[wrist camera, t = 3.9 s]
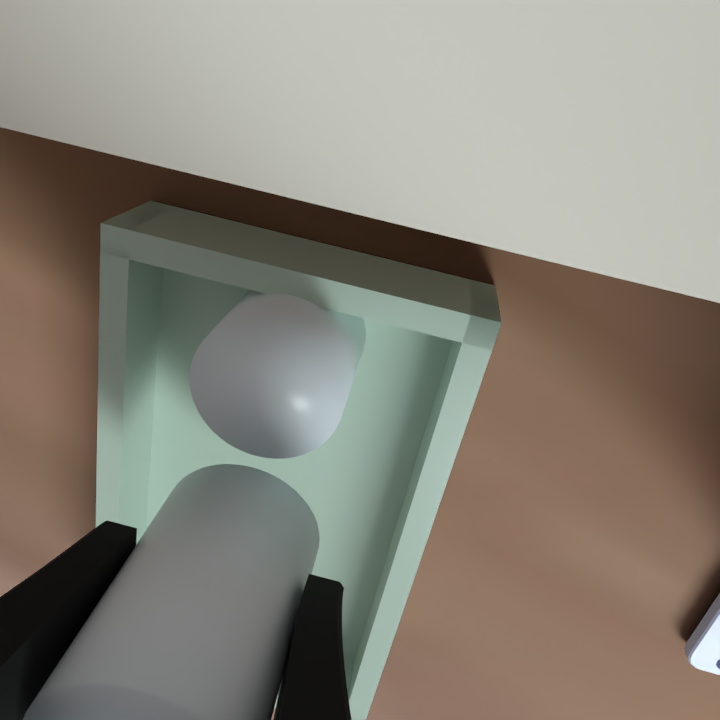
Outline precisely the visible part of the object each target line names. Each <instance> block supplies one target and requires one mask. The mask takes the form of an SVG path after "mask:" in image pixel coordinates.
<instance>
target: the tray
mask: <svg viewBox="0 0 720 720" xmlns="http://www.w3.org/2000/svg"><path fill="white" fill-rule="evenodd" d="M500 326H501V317H500V311H499V305H498V299H497V293H496V287H495V285H491V284H487V283H483V282H479V281H475V280H470V279H466V278H462V277H458V276H454V275H450V274H446V273H442V272H438V271H434V270H430V269H426V268H422V267H418V266H414V265H410V264H406V263H402V262H397V261H393V260H389V259H385V258H381V257H377V256H373V255H369V254H365V253H361V252H357V251H353V250H349V249H345V248H341V247H337V246H333V245H329V244H325V243H320V242H316V241H312V240H308V239H304V238H300V237H296V236H292V235H288V234H284V233H280V232H276V231H272V230H268V229H264V228H260V227H256V226H252V225H248V224H243V223H239V222H235V221H231V220H227V219H223V218H219V217H215V216H211V215H207V214H203V213H199V212H195V211H191V210H187V209H183V208H179V207H175V206H170V205H166V204H162V203H158V202H154V201H148V202H146V203H144V204H142V205H140V206H137V207H135V208H133V209H131V210H128V211H126V212H124V213H122V214H120V215H117V216H115V217H113V218H111V219H108V220H106V221H104V222H102V223H101V228H100V290H99V353H98V415H97V477H96V527H97V526H99V525H100V524H101V523H103V522H105V521H111V522H115V523H119V524H123V525H126V526H130V527H134V528H137V538H136V545H137V543H138V542H139V540H140V539H141V537H142V536H143V534H144V533H145V531H146V530H147V528H148V527H149V525H150V523H151V522H152V520H153V519H154V517H155V516H156V514H157V513H158V511H159V510H160V508H161V507H162V505H163V504H164V502H165V501H166V499H167V498H168V496H169V495H170V493H171V492H172V490H173V489H174V487H175V486H176V485H177V484H178V483H179V482H180V481H181V480H182V479H183V478H184V477H185V476H187V475H188V474H190V473H192V472H194V471H196V470H198V469H201V468H204V467H207V466H212V465H218V464H238V465H244V466H249V467H253V468H256V469H260V470H262V471H265V472H267V473H270V474H272V475H274V476H275V477H277V478H279V479H281V480H282V481H284V482H285V483H287V484H288V485H289V486H291V487H292V488H293V489H294V490H295V491H297V493H298V494H299V495H300V496H301V497H302V498H303V499H304V500H305V502H306V503H307V504H308V505H309V507H310V509H311V511H312V512H313V514H314V516H315V519H316V521H317V525H318V529H319V537H320V541H319V549H318V553H317V556H316V560H315V564H314V567H313V571H312V575H316V576H320V577H323V578H327V579H331V580H335V581H338V582H340V583H341V584H342V586H343V587H344V591H343V601H342V639H343V655H344V666H345V675H346V683H347V692H348V700H349V707H350V713H351V720H366V718H367V715H368V712H369V709H370V706H371V703H372V700H373V697H374V694H375V691H376V688H377V686H378V683H379V680H380V677H381V674H382V671H383V668H384V665H385V662H386V659H387V656H388V653H389V650H390V648H391V645H392V642H393V639H394V636H395V633H396V630H397V627H398V624H399V621H400V618H401V615H402V612H403V610H404V607H405V604H406V601H407V598H408V595H409V592H410V589H411V586H412V583H413V580H414V577H415V574H416V571H417V569H418V566H419V563H420V560H421V557H422V554H423V551H424V548H425V545H426V542H427V539H428V536H429V533H430V531H431V528H432V525H433V522H434V519H435V516H436V513H437V510H438V507H439V504H440V501H441V498H442V495H443V492H444V490H445V487H446V484H447V481H448V478H449V475H450V472H451V469H452V466H453V463H454V460H455V457H456V454H457V452H458V449H459V446H460V443H461V440H462V437H463V434H464V431H465V428H466V425H467V422H468V419H469V416H470V413H471V411H472V408H473V405H474V402H475V399H476V396H477V393H478V390H479V387H480V384H481V381H482V378H483V375H484V373H485V370H486V367H487V364H488V361H489V358H490V355H491V352H492V349H493V346H494V343H495V340H496V337H497V335H498V332H499V329H500ZM281 682H282V681H281ZM280 686H281V685H280ZM279 690H280V689H279ZM278 695H279V692H278ZM277 699H278V696H277ZM277 699H276V703H275V706H274V708H276V704H277Z"/></svg>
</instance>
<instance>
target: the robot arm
mask: <svg viewBox="0 0 720 720" xmlns="http://www.w3.org/2000/svg"><path fill="white" fill-rule="evenodd" d="M136 538H137V528H134V527H130V526H126V525H123V524H119V523H115V522H111V521H105V522H103V523H101V524H100V525H99V526H97V527H96V528H95V529H93V530H92V531H91V532H89V533H88V534H87V535H85V536H84V537H83V538H81V539H80V540H79V541H78V542H76V543H75V544H74V545H72V546H71V547H70V548H68V549H67V550H66V551H64V552H63V553H62V554H60V555H59V556H57V557H56V558H55V559H53V560H52V561H51V562H49V563H48V564H47V565H45V566H44V567H42V568H41V569H40V570H38V571H37V572H35V573H34V574H33V575H31V576H30V577H28V578H27V579H25V580H24V581H23V582H21V583H20V584H18V585H17V586H15V587H14V588H13V589H11V590H10V591H8V592H7V593H5V594H4V595H3V596H1V597H0V720H23V718H24V716H25V714H26V711H27V710H28V708H29V707H30V705H31V704H32V702H33V701H34V699H35V698H36V696H37V695H38V693H39V692H40V690H41V689H42V687H43V686H44V684H45V683H46V681H47V679H48V678H49V676H50V675H51V673H52V672H53V670H54V669H55V667H56V666H57V664H58V663H59V661H60V660H61V658H62V657H63V655H64V654H65V652H66V651H67V649H68V648H69V646H70V645H71V643H72V642H73V640H74V639H75V637H76V636H77V634H78V633H79V631H80V630H81V628H82V626H83V625H84V623H85V622H86V620H87V619H88V617H89V616H90V614H91V613H92V611H93V610H94V608H95V607H96V605H97V604H98V602H99V601H100V599H101V598H102V596H103V595H104V593H105V592H106V590H107V589H108V587H109V586H110V584H111V583H112V581H113V580H114V578H115V577H116V575H117V573H118V572H119V570H120V569H121V567H122V566H123V564H124V563H125V561H126V560H127V558H128V557H129V555H130V554H131V552H132V551H133V549H134V548H135V546H136ZM343 591H344V587H343V586H342V584H341V583H340V582H338V581H335V580H331V579H327V578H323V577H320V576H316V575H312V574H309V575H308V578H307V581H306V584H305V588H304V591H303V594H302V598H301V601H300V604H299V608H298V612H297V617H296V621H295V625H294V630H293V634H292V639H291V644H290V649H289V654H288V659H287V663H286V667H285V671H284V674H283V678H282V682H281V686H280V690H279V695H278V699H277V704H276V710H275V715H274V720H351V713H350V707H349V700H348V692H347V683H346V675H345V666H344V655H343V639H342V601H343ZM684 649H685V653H686V655H687V658H688V661H689V663H690V664H691V665H692V666H693V667H695V668H698V669H700V670H704V671H707V672H711V673H715V674H719V675H720V593H719V595H718V596H717V598H716V599H715V601H714V602H713V604H712V605H711V607H710V608H709V610H708V611H707V613H706V614H705V616H704V617H703V619H702V620H701V622H700V623H699V625H698V626H697V628H696V629H695V631H694V632H693V634H692V635H691V637H690V638H689V640H688V641H687V643H686V645H685V648H684Z"/></svg>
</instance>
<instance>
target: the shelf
mask: <svg viewBox="0 0 720 720" xmlns="http://www.w3.org/2000/svg"><path fill="white" fill-rule="evenodd" d="M0 127H2V128H6V129H10V130H14V131H18V132H22V133H26V134H30V135H34V136H39V137H43V138H47V139H51V140H55V141H59V142H63V143H67V144H71V145H75V146H79V147H84V148H88V149H92V150H96V151H100V152H104V153H108V154H112V155H116V156H120V157H124V158H129V159H133V160H137V161H141V162H145V163H149V164H153V165H157V166H161V167H165V168H169V169H174V170H178V171H182V172H186V173H190V174H194V175H198V176H202V177H206V178H210V179H214V180H218V181H223V182H227V183H231V184H235V185H239V186H243V187H247V188H251V189H255V190H259V191H263V192H268V193H272V194H276V195H280V196H284V197H288V198H292V199H296V200H300V201H304V202H308V203H313V204H317V205H321V206H325V207H329V208H333V209H337V210H341V211H345V212H349V213H353V214H358V215H362V216H366V217H370V218H374V219H378V220H382V221H386V222H390V223H394V224H398V225H402V226H407V227H411V228H415V229H419V230H423V231H427V232H431V233H435V234H439V235H443V236H447V237H452V238H456V239H460V240H464V241H468V242H472V243H476V244H480V245H484V246H488V247H492V248H497V249H501V250H505V251H509V252H513V253H517V254H521V255H525V256H529V257H533V258H537V259H542V260H546V261H550V262H554V263H558V264H562V265H566V266H570V267H574V268H578V269H582V270H586V271H591V272H595V273H599V274H603V275H607V276H611V277H615V278H619V279H623V280H627V281H631V282H636V283H640V284H644V285H648V286H652V287H656V288H660V289H664V290H668V291H672V292H676V293H681V294H685V295H689V296H693V297H697V298H701V299H705V300H709V301H713V302H717V303H720V0H0Z"/></svg>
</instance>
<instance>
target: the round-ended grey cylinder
mask: <svg viewBox="0 0 720 720" xmlns="http://www.w3.org/2000/svg"><path fill="white" fill-rule="evenodd" d="M319 541H320V537H319V529H318V525H317V521H316V519H315V516H314V514H313V512H312V511H311V509H310V507H309V505H308V504H307V503H306V502H305V500H304V499H303V498H302V497H301V496H300V495H299V494H298V493H297V491H295V490H294V489H293V488H292V487H291V486H289V485H288V484H287V483H285V482H284V481H282V480H281V479H279V478H277V477H275V476H274V475H272V474H270V473H267V472H265V471H262V470H260V469H256V468H253V467H249V466H244V465H238V464H218V465H212V466H207V467H204V468H201V469H198V470H196V471H194V472H192V473H190V474H188V475H187V476H185V477H184V478H183V479H182V480H181V481H180V482H179V483H178V484H177V485H176V486H175V487H174V489H173V490H172V492H171V493H170V495H169V496H168V498H167V499H166V501H165V502H164V504H163V505H162V507H161V508H160V510H159V511H158V513H157V514H156V516H155V517H154V519H153V520H152V522H151V523H150V525H149V527H148V528H147V530H146V531H145V533H144V534H143V536H142V537H141V539H140V540H139V542H138V543H137V545H136V546H135V548H134V549H133V551H132V552H131V554H130V555H129V557H128V558H127V560H126V561H125V563H124V564H123V566H122V567H121V569H120V570H119V572H118V573H117V575H116V577H115V578H114V580H113V581H112V583H111V584H110V586H109V587H108V589H107V590H106V592H105V593H104V595H103V596H102V598H101V599H100V601H99V602H98V604H97V605H96V607H95V608H94V610H93V611H92V613H91V614H90V616H89V617H88V619H87V620H86V622H85V623H84V625H83V626H82V628H81V630H80V631H79V633H78V634H77V636H76V637H75V639H74V640H73V642H72V643H71V645H70V646H69V648H68V649H67V651H66V652H65V654H64V655H63V657H62V658H61V660H60V661H59V663H58V664H57V666H56V667H55V669H54V670H53V672H52V673H51V675H50V676H49V678H48V679H47V681H46V683H45V684H44V686H43V687H42V689H41V690H40V692H39V693H38V695H37V696H36V698H35V699H34V701H33V702H32V704H31V705H30V707H29V708H28V710H27V711H26V714H25V716H24V718H23V720H271V717H272V714H273V710H274V706H275V703H276V699H277V696H278V692H279V689H280V685H281V681H282V678H283V674H284V671H285V667H286V663H287V659H288V654H289V649H290V644H291V639H292V634H293V630H294V625H295V621H296V617H297V612H298V608H299V604H300V601H301V598H302V594H303V591H304V588H305V584H306V581H307V578H308V575H309V574H312V571H313V567H314V564H315V560H316V556H317V553H318V549H319Z"/></svg>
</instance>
